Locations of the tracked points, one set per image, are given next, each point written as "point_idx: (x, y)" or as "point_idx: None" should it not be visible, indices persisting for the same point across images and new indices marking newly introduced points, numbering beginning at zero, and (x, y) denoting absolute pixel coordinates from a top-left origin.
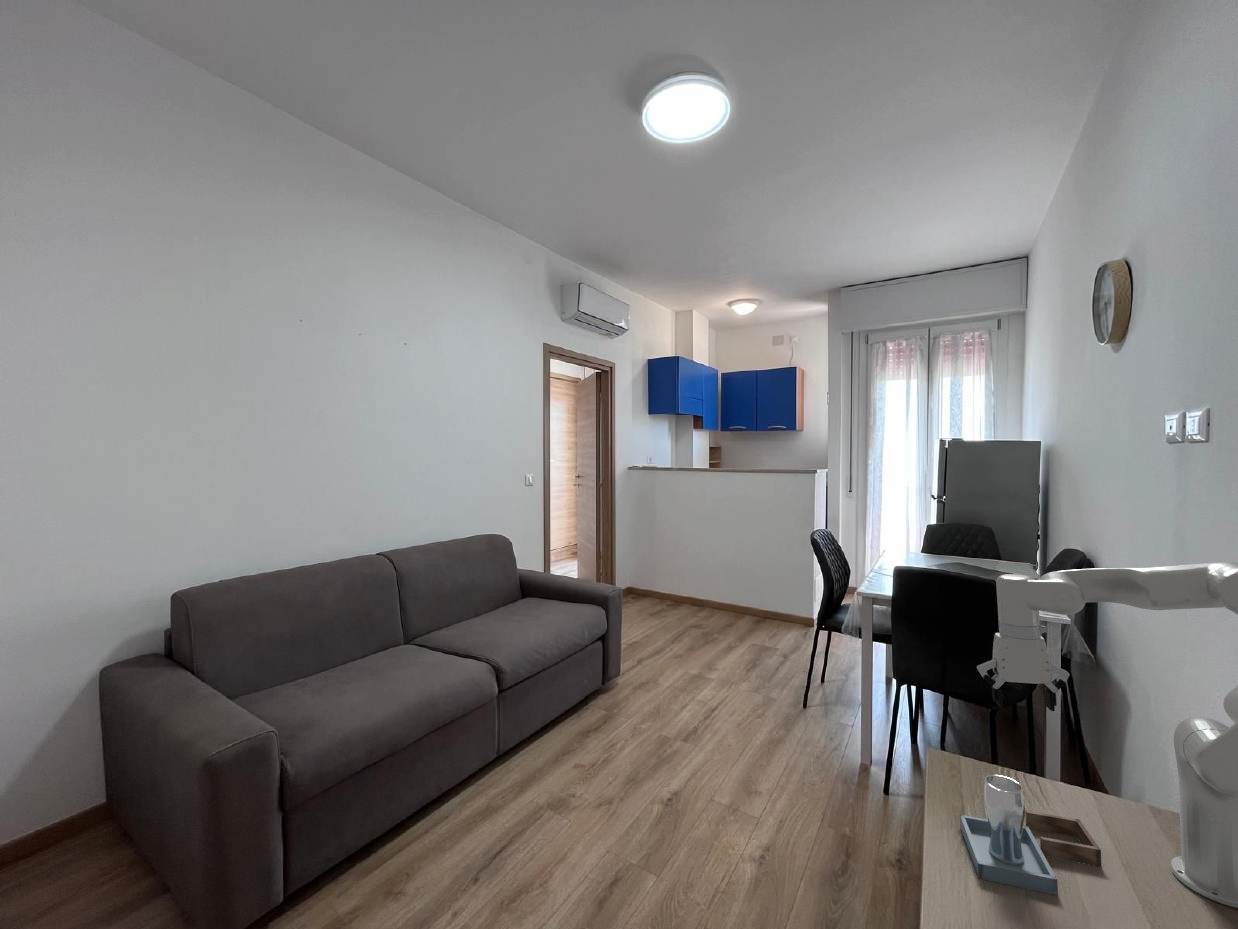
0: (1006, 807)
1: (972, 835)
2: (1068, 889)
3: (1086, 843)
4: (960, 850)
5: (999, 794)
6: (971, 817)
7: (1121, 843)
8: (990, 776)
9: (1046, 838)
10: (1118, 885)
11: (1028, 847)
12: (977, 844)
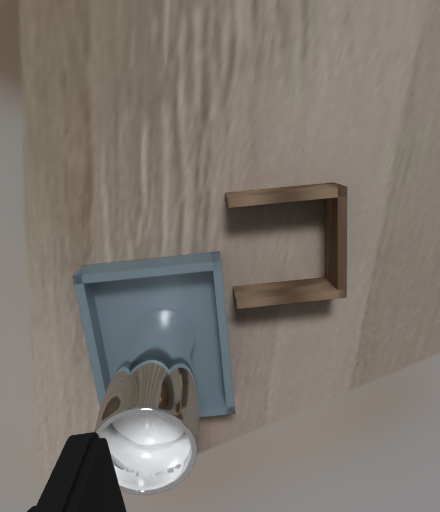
0: (149, 460)
1: (104, 301)
2: (254, 371)
3: (331, 246)
4: (82, 343)
5: (129, 481)
6: (98, 277)
7: (409, 175)
8: (109, 421)
9: (248, 302)
10: (342, 324)
11: (211, 294)
12: (112, 328)
